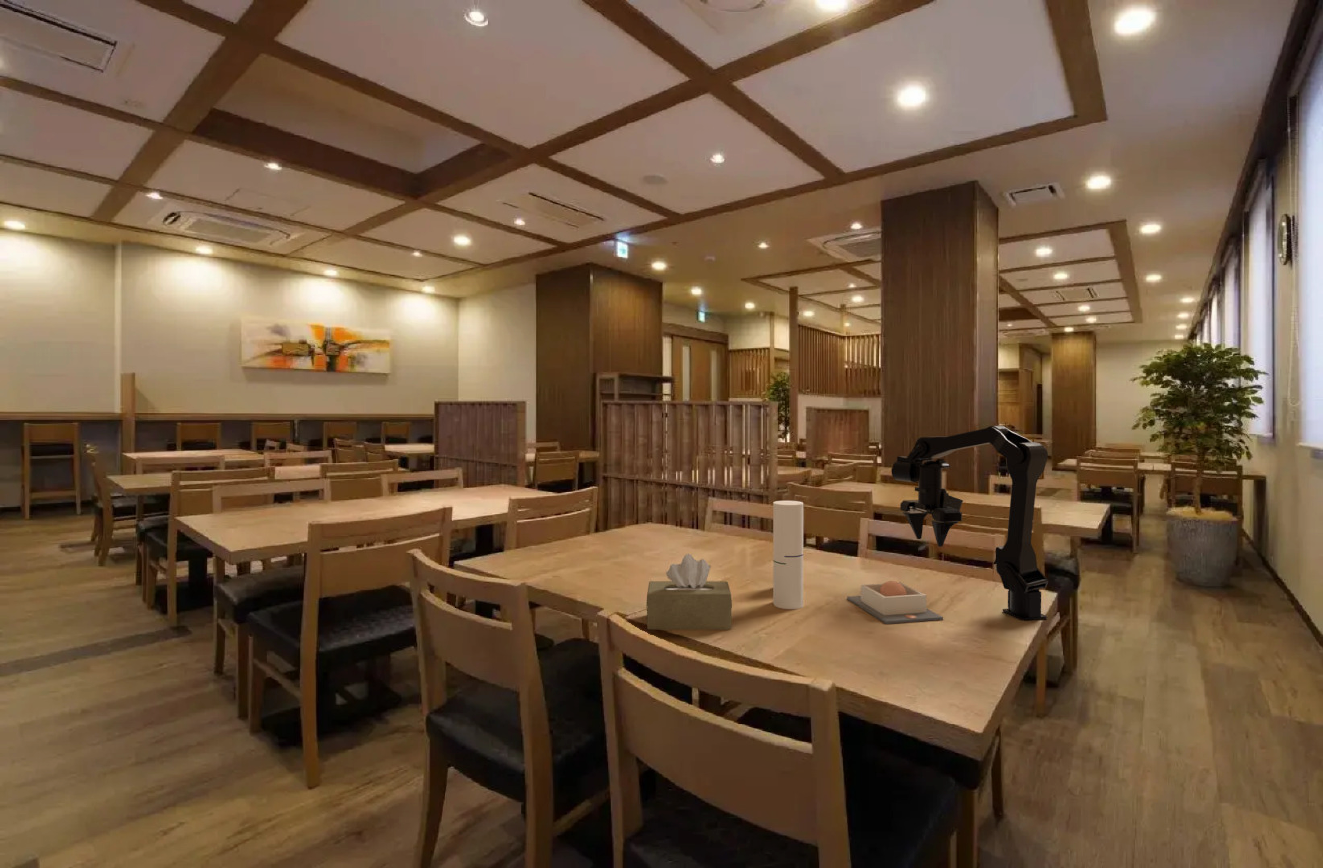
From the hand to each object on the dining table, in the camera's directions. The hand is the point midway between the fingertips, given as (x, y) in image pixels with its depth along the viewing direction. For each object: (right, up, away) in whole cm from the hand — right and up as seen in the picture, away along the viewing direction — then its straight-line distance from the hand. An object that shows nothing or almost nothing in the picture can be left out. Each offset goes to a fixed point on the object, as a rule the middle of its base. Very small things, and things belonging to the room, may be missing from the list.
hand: (929, 542), depth 160 cm
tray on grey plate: (-16, -13, -17) cm, 26 cm away
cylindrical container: (-40, -13, -13) cm, 44 cm away
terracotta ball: (-16, -9, -17) cm, 25 cm away
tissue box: (-65, -14, -24) cm, 71 cm away
